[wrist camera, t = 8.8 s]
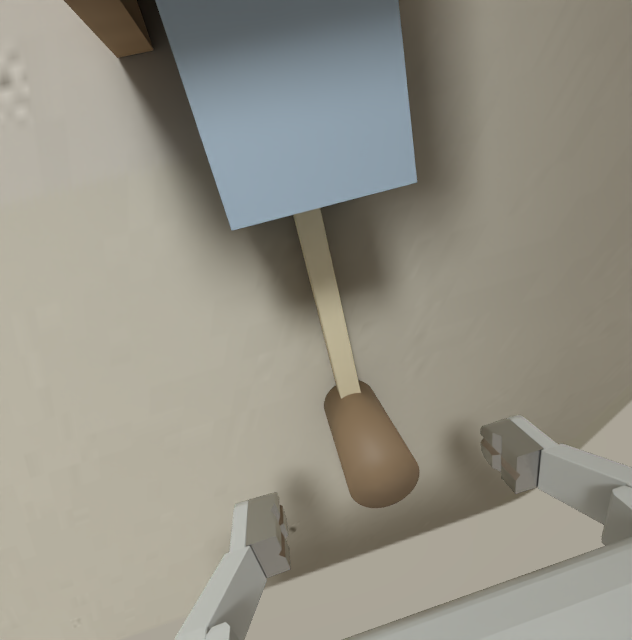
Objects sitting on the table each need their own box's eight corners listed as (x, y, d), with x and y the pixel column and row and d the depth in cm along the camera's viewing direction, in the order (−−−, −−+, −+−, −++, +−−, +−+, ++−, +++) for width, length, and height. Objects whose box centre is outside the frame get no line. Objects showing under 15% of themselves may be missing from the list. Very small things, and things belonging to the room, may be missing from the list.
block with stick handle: (199, 79, 10) (143, -34, 6) (335, 49, 11) (390, -82, 6) (311, 436, 16) (329, 525, 11) (396, 409, 16) (448, 485, 12)
